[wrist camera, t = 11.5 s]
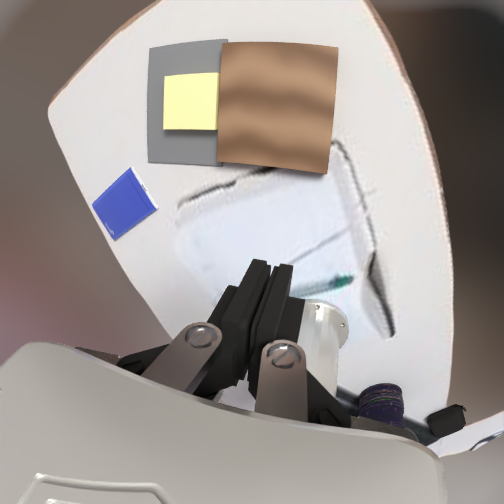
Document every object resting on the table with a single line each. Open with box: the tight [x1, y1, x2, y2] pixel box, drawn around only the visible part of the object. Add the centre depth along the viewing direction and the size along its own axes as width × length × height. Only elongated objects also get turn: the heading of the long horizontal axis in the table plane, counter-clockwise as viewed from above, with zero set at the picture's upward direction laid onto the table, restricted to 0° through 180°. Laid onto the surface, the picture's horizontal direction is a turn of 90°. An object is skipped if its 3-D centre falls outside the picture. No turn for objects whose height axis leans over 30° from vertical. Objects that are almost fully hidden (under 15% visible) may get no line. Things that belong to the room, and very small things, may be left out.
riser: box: [217, 42, 338, 174], centre depth 32 cm, size 16×14×2 cm
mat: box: [147, 39, 228, 166], centre depth 35 cm, size 18×12×1 cm, turn 178°
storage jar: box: [358, 383, 405, 428], centre depth 45 cm, size 10×10×15 cm
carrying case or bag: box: [427, 404, 466, 438], centre depth 50 cm, size 11×3×15 cm
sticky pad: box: [163, 73, 220, 130], centre depth 33 cm, size 8×8×2 cm
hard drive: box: [92, 167, 159, 240], centre depth 45 cm, size 2×8×12 cm
